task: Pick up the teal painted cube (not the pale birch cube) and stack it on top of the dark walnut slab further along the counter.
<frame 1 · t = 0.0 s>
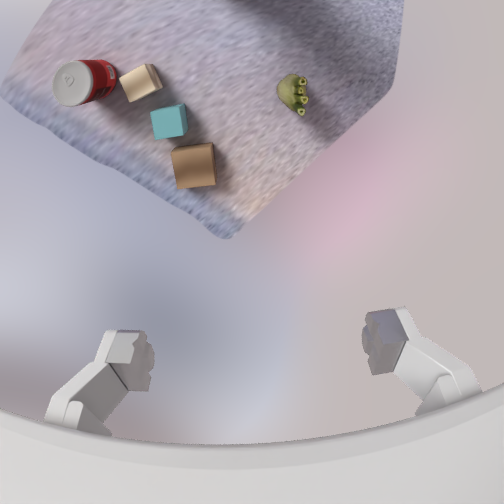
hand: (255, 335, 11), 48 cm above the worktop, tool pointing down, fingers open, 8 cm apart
birch cube: (145, 81, 46), on the worktop
canned food: (99, 79, 45), on the worktop
walnut slab: (196, 162, 55), on the worktop
teal cube: (173, 118, 50), on the worktop
fennel bulb: (289, 90, 48), on the worktop
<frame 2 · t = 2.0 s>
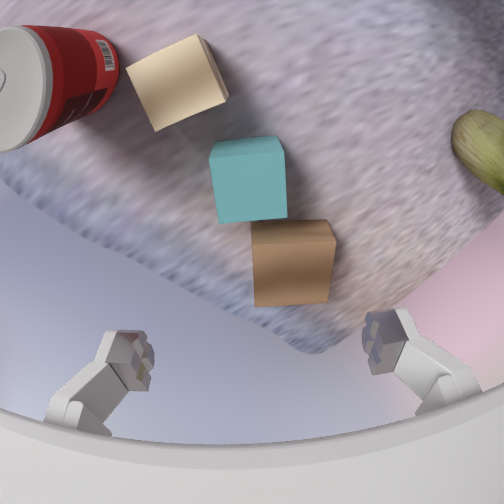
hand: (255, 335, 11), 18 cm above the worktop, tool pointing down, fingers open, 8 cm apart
birch cube: (187, 79, 21), on the worktop
canned food: (83, 72, 19), on the worktop
walnut slab: (288, 250, 30), on the worktop
teal cube: (248, 166, 25), on the worktop
fennel bulb: (461, 133, 23), on the worktop
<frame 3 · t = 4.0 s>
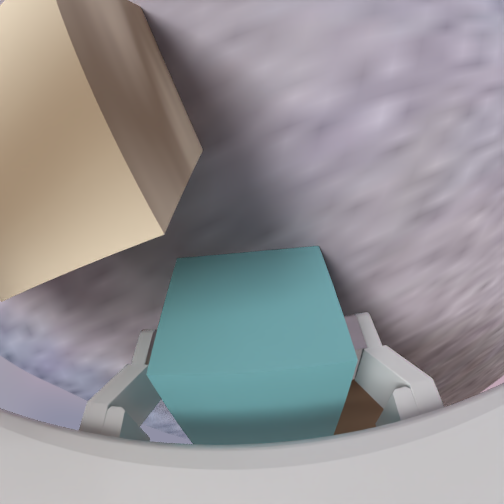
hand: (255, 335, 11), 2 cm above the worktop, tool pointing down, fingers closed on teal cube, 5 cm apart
birch cube: (100, 112, 8), on the worktop
walnut slab: (314, 400, 17), on the worktop
teal cube: (253, 303, 12), on the worktop, touching gripper
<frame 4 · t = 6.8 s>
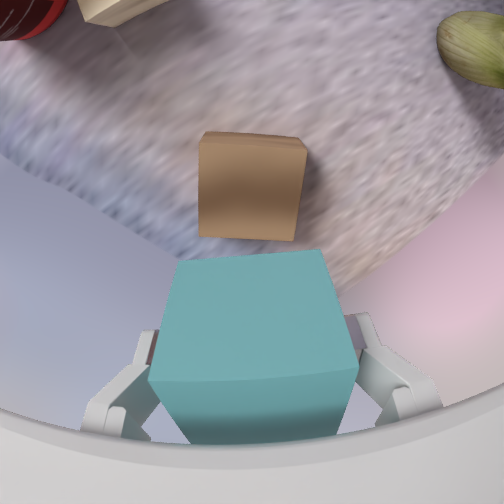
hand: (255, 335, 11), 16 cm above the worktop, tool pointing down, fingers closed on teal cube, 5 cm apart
canned food: (38, 0, 13), on the worktop
walnut slab: (248, 175, 24), on the worktop
teal cube: (254, 307, 12), point 14 cm above the worktop, touching gripper
fennel bulb: (449, 43, 17), on the worktop
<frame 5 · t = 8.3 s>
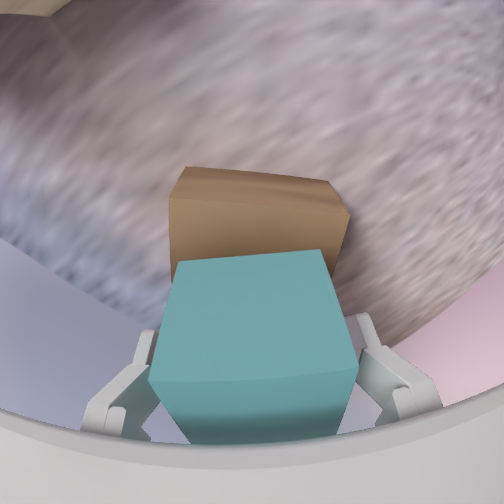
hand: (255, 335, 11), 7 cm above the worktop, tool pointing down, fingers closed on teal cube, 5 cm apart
walnut slab: (249, 232, 17), on the worktop
teal cube: (254, 307, 12), point 5 cm above the worktop, touching gripper
when the fingers open (7 cm above the worktop, at t = 9.2 s): teal cube drops 1 cm, point 4 cm above the worktop.
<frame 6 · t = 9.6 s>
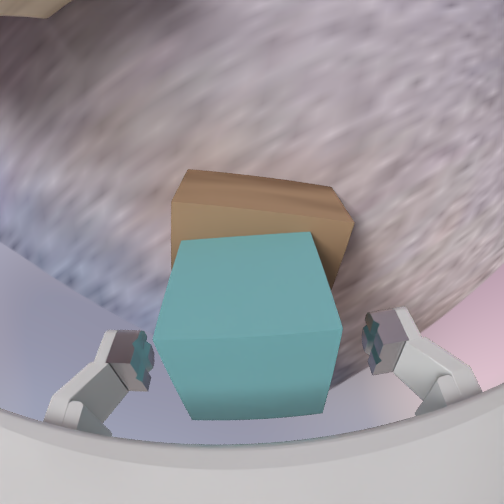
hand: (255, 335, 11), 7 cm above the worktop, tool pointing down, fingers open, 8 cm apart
walnut slab: (251, 236, 16), on the worktop
teal cube: (249, 286, 13), point 4 cm above the worktop
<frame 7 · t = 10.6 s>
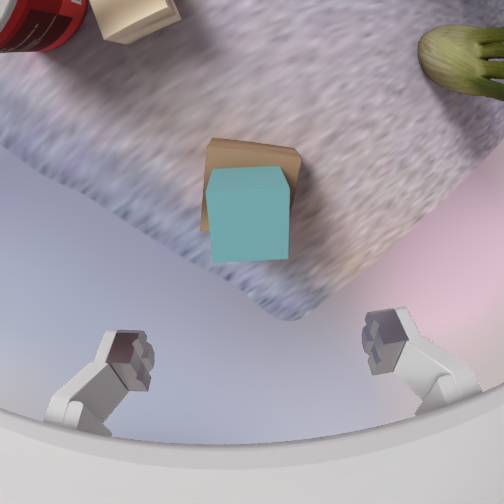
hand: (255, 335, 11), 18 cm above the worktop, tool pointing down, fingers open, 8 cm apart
birch cube: (145, 9, 18), on the worktop
canned food: (56, 15, 17), on the worktop
walnut slab: (248, 179, 27), on the worktop, touching teal cube
teal cube: (247, 198, 24), point 4 cm above the worktop, touching walnut slab
fennel bulb: (430, 56, 20), on the worktop
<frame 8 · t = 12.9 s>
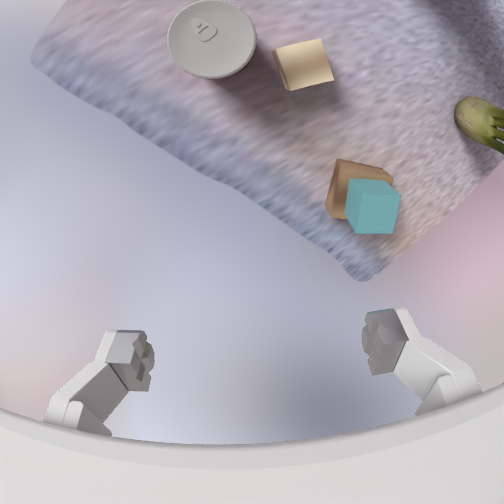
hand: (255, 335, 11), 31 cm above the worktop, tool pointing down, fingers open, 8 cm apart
birch cube: (297, 64, 31), on the worktop
canned food: (220, 47, 30), on the worktop
walnut slab: (353, 185, 41), on the worktop, touching teal cube
teal cube: (364, 197, 37), point 4 cm above the worktop, touching walnut slab
fennel bulb: (460, 112, 34), on the worktop
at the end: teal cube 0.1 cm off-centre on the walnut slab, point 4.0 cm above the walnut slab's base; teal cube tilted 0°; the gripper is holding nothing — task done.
